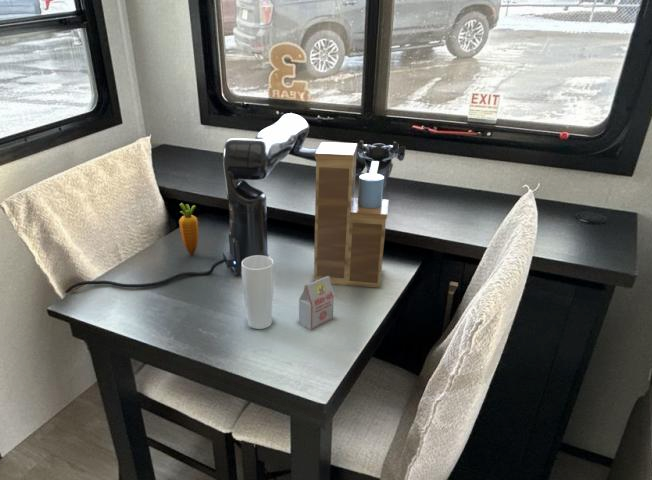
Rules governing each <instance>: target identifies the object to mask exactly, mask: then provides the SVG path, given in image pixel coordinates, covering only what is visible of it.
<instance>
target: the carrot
mask: <svg viewBox="0 0 652 480" xmlns="http://www.w3.org/2000/svg"><path fill="white" fill-rule="evenodd" d="M179 206H180V208H181V211H179V213H180V214H182V216H181V217H180V218H179V220H178V224H179V232H180V236H181V237H180V238H181V240H182V243H183V245H184V248H185V250H186V251H187V253H188V254H189V256H191V257H192V256H193V257H194V255H195V252H196V251H197V248H198V245H199V244H198V243H199V220H198V217H197V216H195V215H193V213H194V211H195V209H196V205H194V204H193V205H192V206H191V208H190V205H189V204H188V203H186V204H184V203H183V202H181V203H180V204H179Z"/></svg>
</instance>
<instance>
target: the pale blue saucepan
mask: <svg viewBox="0 0 652 480" xmlns="http://www.w3.org/2000/svg"><path fill="white" fill-rule="evenodd" d="M378 167H379V161H372V163H371V167H370V171H369V173H361V174H359V175H358V176H359V177H358V188H357V189H358V190H357V191H358V192H357V198H358V205H359V206H361V207H364V208H378V207H380V206H381V205H382V199H383V198H384V197H383V195H384V189H383V186H384V176H382V175H380V174H377V172H378Z"/></svg>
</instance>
